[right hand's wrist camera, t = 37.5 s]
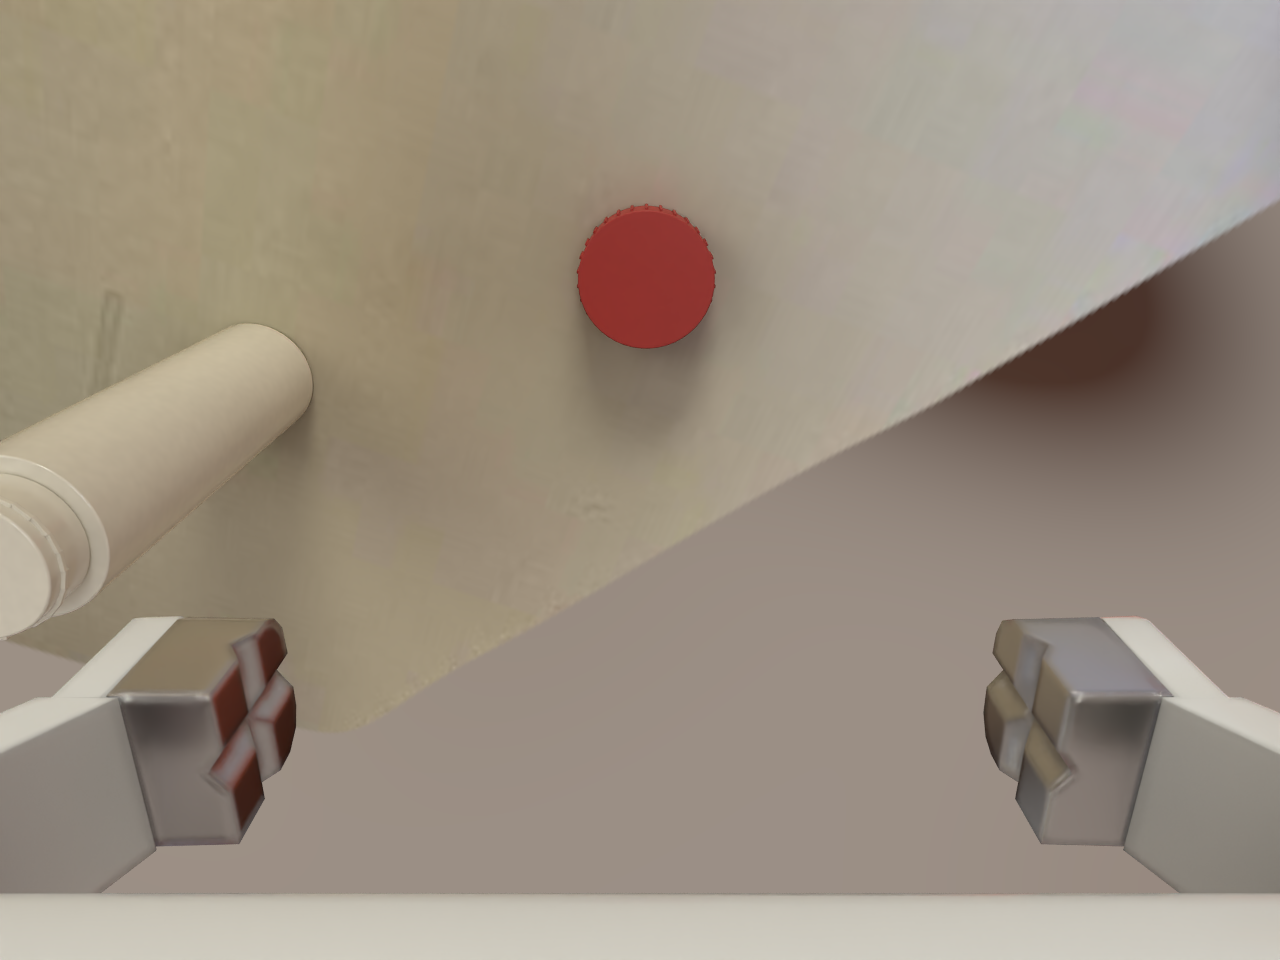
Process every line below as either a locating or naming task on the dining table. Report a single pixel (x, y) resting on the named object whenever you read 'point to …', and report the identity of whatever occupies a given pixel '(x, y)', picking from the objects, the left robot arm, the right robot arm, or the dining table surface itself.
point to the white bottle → (135, 465)
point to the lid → (646, 277)
